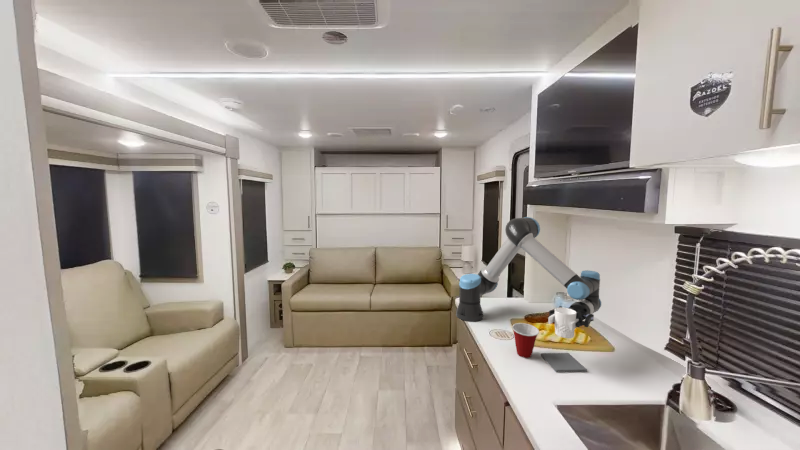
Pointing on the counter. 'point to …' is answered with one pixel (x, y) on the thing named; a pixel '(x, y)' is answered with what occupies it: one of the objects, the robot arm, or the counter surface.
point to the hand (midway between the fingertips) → (559, 323)
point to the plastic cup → (524, 338)
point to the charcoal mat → (563, 362)
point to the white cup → (564, 322)
